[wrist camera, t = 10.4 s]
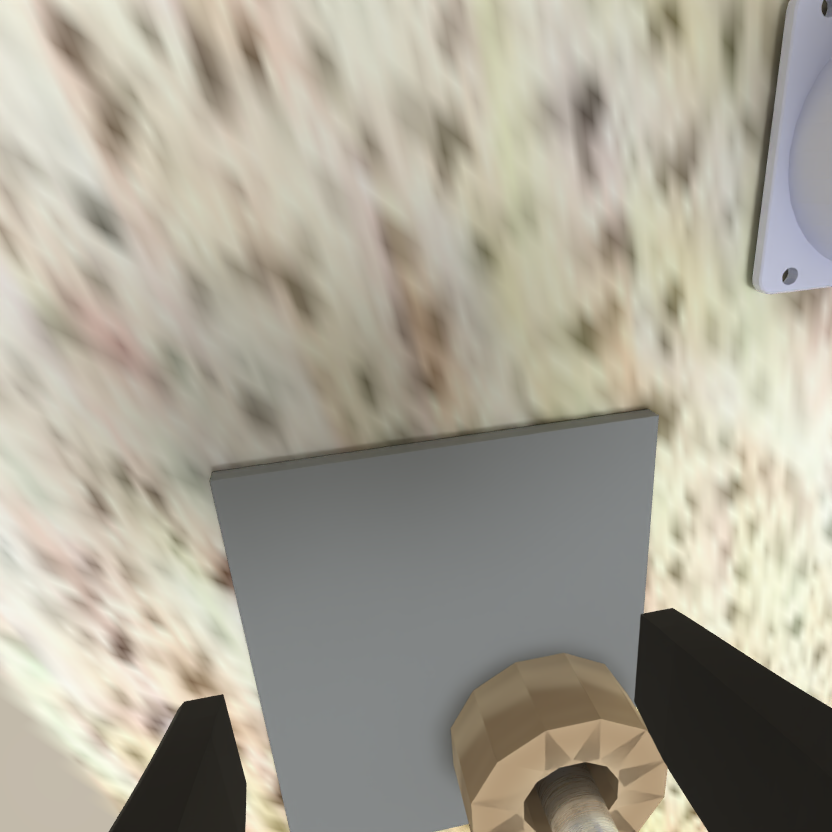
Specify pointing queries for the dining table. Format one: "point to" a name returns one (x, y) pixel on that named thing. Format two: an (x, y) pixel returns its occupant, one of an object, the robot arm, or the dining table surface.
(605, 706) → the maple bead
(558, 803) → the steel peg
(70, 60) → the dining table surface
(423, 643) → the mat
